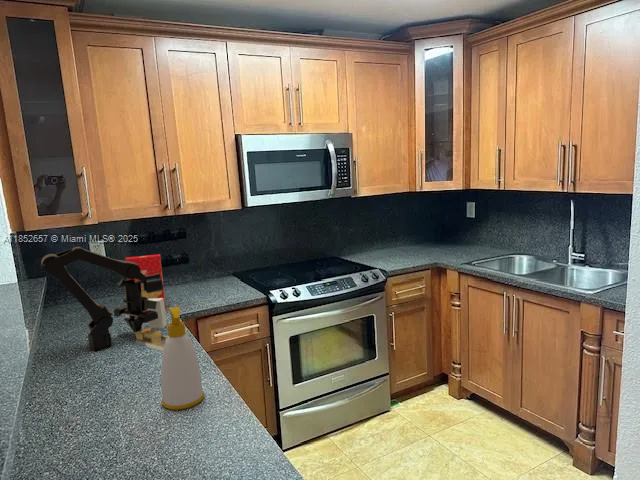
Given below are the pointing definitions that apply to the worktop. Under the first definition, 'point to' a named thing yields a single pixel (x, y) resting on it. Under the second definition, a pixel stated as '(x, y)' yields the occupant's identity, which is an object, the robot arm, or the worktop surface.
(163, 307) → the skincare box
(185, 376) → the soap bottle
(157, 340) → the chip
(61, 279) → the robot arm
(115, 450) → the worktop surface
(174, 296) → the worktop surface
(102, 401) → the worktop surface
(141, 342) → the slot board
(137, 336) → the chip
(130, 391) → the worktop surface
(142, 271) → the food packaging
